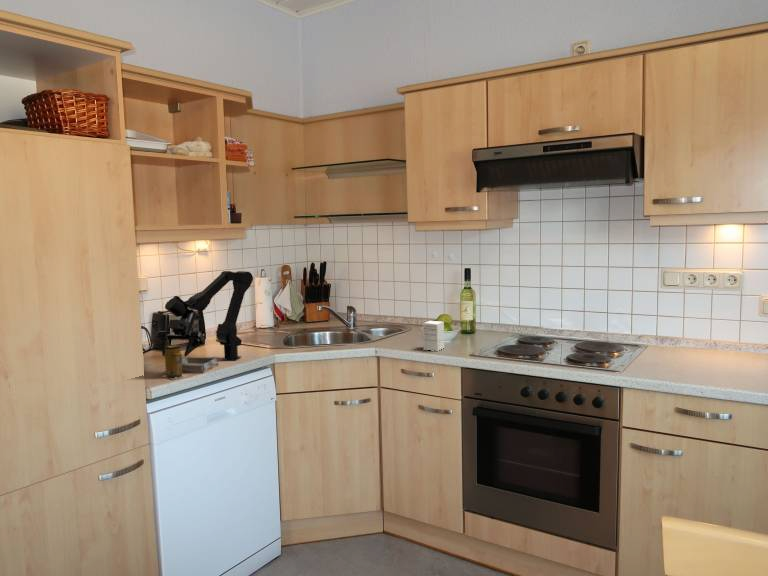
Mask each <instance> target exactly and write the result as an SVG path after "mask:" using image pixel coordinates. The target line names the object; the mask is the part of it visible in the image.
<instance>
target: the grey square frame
mask: <svg viewBox="0 0 768 576" xmlns="http://www.w3.org/2000/svg"><path fill="white" fill-rule="evenodd" d="M181 359H182V372H183V373H182V374H186V373H187V374H205V373H207V372H209V371H210V370H212V369H214V368H216V367H218V366H219V362H218V357H184V358H181ZM215 366H216V367H215ZM213 367H214V368H213ZM211 368H212V369H211Z"/></svg>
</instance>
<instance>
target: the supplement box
mask: <svg viewBox="0 0 768 576" xmlns="http://www.w3.org/2000/svg"><path fill="white" fill-rule="evenodd" d="M422 341H423V348H422V349H423V351H424V350H434V351H438V352H440V351H442V350H444V349H445V322H444V321H441V320H427V321H425V322H423V323H422ZM443 348H444V349H443ZM441 349H442V350H441ZM439 350H440V351H439ZM434 351H433V352H434Z"/></svg>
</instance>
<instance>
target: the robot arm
mask: <svg viewBox="0 0 768 576" xmlns="http://www.w3.org/2000/svg"><path fill="white" fill-rule="evenodd" d="M253 280H254V276H253V274H252V273H251V272H250V271H243V270H239V271H236V272H234V271H229V270H223V271H222V272H220V274H219V275H218V276H217V277H216V278H215V279H213V281H212V282H210V284H209V285H207V286H206V287H205V288H204V289H203V290H200V291H199V292H196V293H195V294H194V295H192V296H190V297H189V298H188V299H187V300H185V301H184V300H182V298H181V297H180V296H178V295H174V296H173V297H172V298H171V299H169V300H168V301H166V302H165V305H164V308H165V310H167V312H168V313H170V314H171V315H173V316H174V317H176V318H179V317H180V318H179V319H169V323H168V328H169V329H171V332H172V333H174V334H172V333H171V334H170V333H169V331H168V330H158V331H157V332H156V334H155V337H156V339H157V340H158V341H159V343H160V344H161V351H162V352H161V355H162V357H165V353H166V346H169V345H171V343H172V340H174V341H175V340H177V341H178V340H179V341H188V343H187V345H186V348H185V350H184V356H183V357H187V356H189V354H190V353H191V352H193V351H195V349H197V348H198V347H201V346H202V345H203V346H204V345H205V342H206V337H205V336H204V334H203V333H202V331H194V327H193V326H194V325H195V321H198V320H201V319H202V317H201V315H200V313H199V312H202V311H205V310H206V309H207V308H208V306H209V305H210V303H211V300H212V299H213V298H214V296H216V294H218V293H219V292H220V291H221V290H223V288H224V287H225V286H226V285H227V284H228V283H229V282H232V287H233V291H232V294H231V298H230V302H229V304H228V308H227V312H226V315H225V319H224V321H223V323H218V325H217V329H216V331H215V338H217V341H218V342H219V344H220V346H223V354H224V357H223V358H221V361H236V360H239V359H241V358H242V356H240V355H239V352H238V351H239V350H238V348H239V347H238V346H241V345H242V341H243V340H242V339H241V338H240V337H239V336H237V335H238V328H237V321H238V317H239V314H240V312H241V311H240V310H241V308H242V304H243V302H244V301H243V300H244V297H245V293H246V292H247V291H248V289H250V287H251V285H252V283H253ZM196 311H197V312H196Z"/></svg>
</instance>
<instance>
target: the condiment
mask: <svg viewBox="0 0 768 576" xmlns="http://www.w3.org/2000/svg"><path fill="white" fill-rule="evenodd" d="M182 359H183V358H182V353H181V347H180V345H179V344H170V345H169V346H166V353H165V356H164V363H165V364H164V365H165V375H161V377H163V378H166V379H169V380H177V379H183V378H187V377H189V375H188V374H185V373H182ZM182 374H183V376H182ZM181 376H182V377H181ZM175 377H177V378H175Z"/></svg>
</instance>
